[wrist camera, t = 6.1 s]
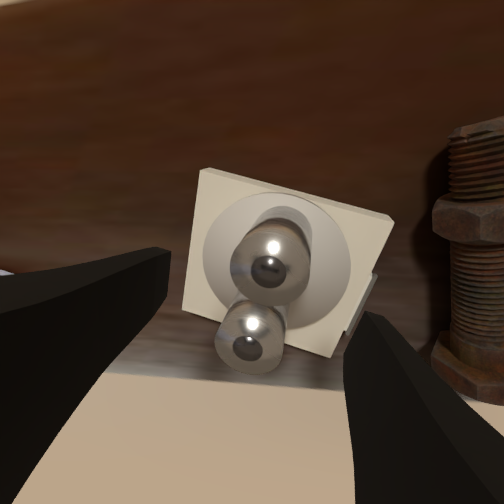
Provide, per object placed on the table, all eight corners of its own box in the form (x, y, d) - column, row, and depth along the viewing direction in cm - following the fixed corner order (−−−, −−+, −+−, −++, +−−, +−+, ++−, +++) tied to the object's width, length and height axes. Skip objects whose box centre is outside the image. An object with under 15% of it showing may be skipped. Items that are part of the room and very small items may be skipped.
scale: (190, 298, 23) (177, 315, 21) (209, 165, 18) (195, 170, 16) (335, 345, 22) (337, 368, 20) (396, 216, 17) (408, 227, 15)
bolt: (467, 121, 16) (467, 334, 21) (396, 141, 15) (413, 359, 20) (618, 90, 11) (573, 387, 15) (523, 117, 10) (506, 427, 14)
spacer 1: (247, 252, 18) (222, 293, 13) (261, 198, 16) (237, 223, 11) (301, 268, 17) (295, 317, 13) (320, 215, 16) (321, 248, 11)
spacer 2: (234, 309, 20) (209, 362, 15) (244, 266, 18) (220, 311, 14) (282, 325, 19) (272, 384, 15) (297, 282, 18) (290, 334, 13)
